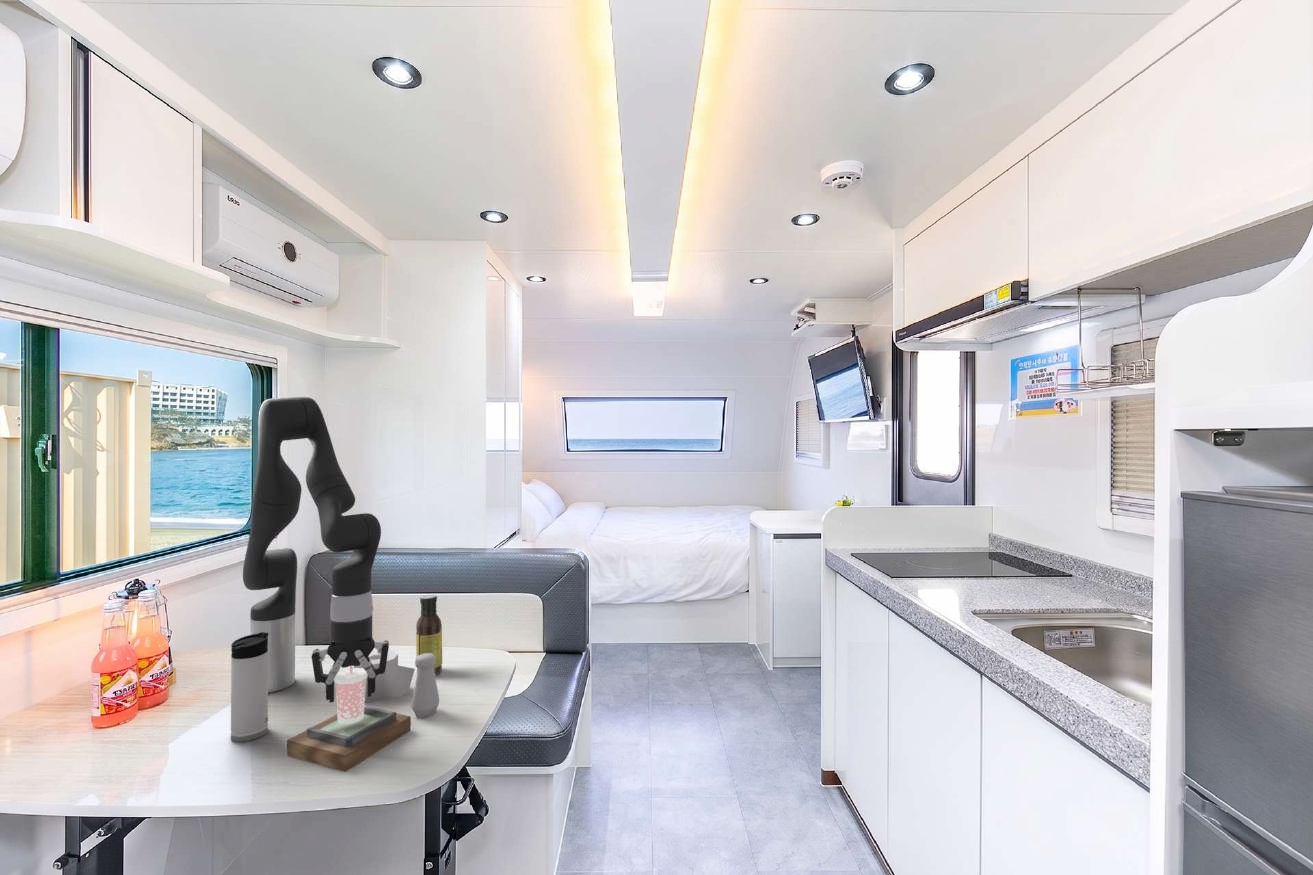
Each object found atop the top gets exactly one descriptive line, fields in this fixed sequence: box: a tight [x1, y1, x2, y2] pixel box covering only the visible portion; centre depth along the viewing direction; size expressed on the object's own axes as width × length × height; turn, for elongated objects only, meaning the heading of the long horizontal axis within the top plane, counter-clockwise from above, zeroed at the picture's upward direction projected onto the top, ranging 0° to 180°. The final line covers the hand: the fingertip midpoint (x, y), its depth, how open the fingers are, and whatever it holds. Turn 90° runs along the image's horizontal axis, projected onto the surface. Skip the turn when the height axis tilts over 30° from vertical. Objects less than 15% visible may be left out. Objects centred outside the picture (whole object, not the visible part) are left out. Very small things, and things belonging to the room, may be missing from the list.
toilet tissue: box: [353, 649, 416, 703], centre depth 141 cm, size 9×13×9 cm
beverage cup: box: [334, 666, 368, 724], centre depth 117 cm, size 6×6×14 cm
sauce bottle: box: [415, 594, 443, 676], centre depth 152 cm, size 6×6×20 cm
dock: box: [286, 705, 412, 772], centre depth 117 cm, size 15×16×4 cm
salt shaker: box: [410, 653, 440, 719], centre depth 130 cm, size 6×6×13 cm
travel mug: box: [230, 632, 269, 743], centre depth 120 cm, size 6×7×20 cm
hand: (351, 697), depth 117 cm, fingers closed on beverage cup, 6 cm apart
